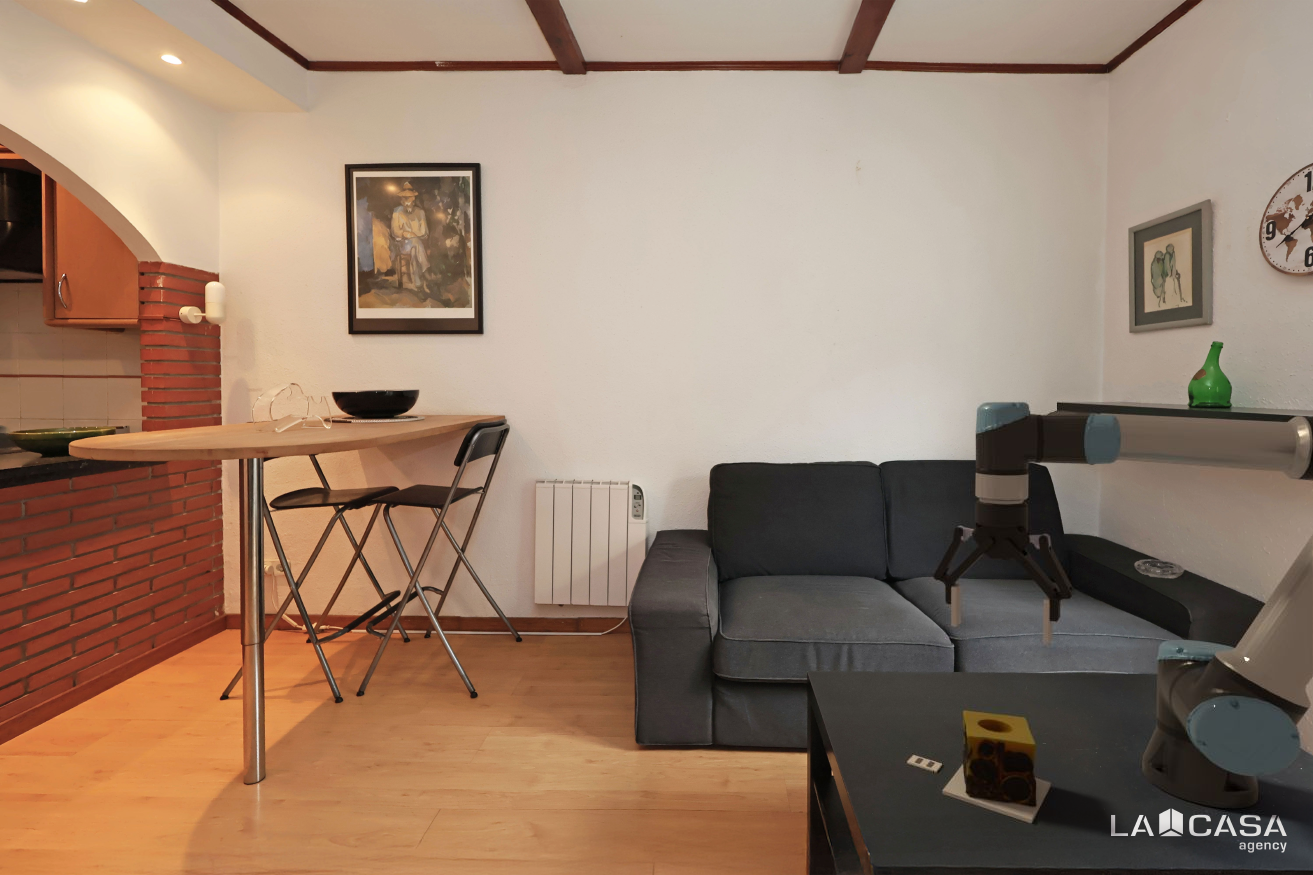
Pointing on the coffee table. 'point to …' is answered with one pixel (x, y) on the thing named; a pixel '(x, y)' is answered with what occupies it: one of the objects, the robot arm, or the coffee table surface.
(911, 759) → the tag
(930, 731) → the coffee table surface
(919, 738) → the coffee table surface
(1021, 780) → the candle
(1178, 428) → the robot arm
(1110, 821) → the coffee table surface
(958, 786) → the coaster
